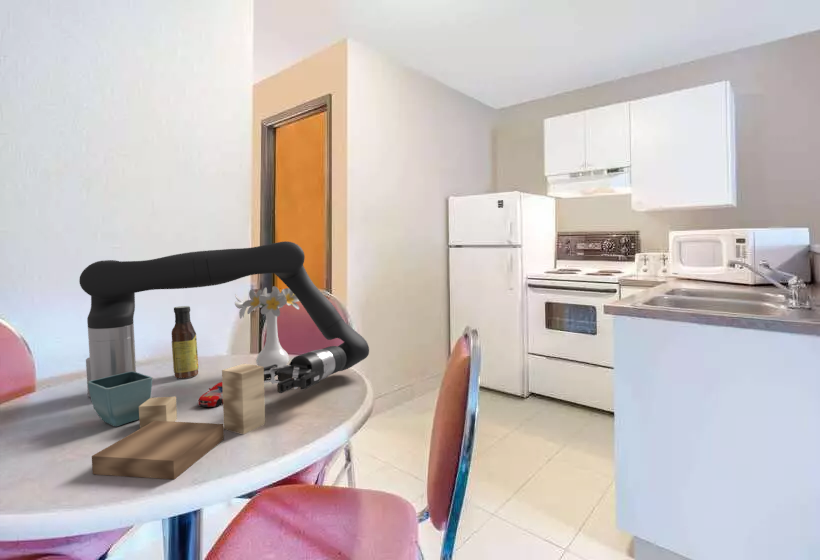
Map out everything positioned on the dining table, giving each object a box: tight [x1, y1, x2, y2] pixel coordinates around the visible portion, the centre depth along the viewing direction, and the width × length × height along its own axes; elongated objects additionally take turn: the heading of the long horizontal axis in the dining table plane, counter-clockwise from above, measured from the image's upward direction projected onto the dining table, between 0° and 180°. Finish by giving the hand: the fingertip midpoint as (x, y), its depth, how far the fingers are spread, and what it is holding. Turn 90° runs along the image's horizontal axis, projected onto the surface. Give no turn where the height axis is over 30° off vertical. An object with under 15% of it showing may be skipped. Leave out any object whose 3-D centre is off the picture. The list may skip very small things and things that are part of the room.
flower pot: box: [86, 371, 153, 427], centre depth 88 cm, size 9×9×9 cm
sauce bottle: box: [171, 305, 199, 379], centre depth 119 cm, size 7×6×20 cm
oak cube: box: [138, 396, 178, 429], centre depth 86 cm, size 5×5×5 cm
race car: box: [197, 381, 223, 408], centre depth 101 cm, size 13×5×4 cm, turn 162°
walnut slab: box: [91, 421, 225, 480], centre depth 73 cm, size 14×14×3 cm
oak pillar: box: [221, 363, 266, 435], centre depth 85 cm, size 6×6×12 cm
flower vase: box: [234, 285, 300, 368], centre depth 124 cm, size 13×18×25 cm
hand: (263, 385), depth 90 cm, fingers open, 8 cm apart
